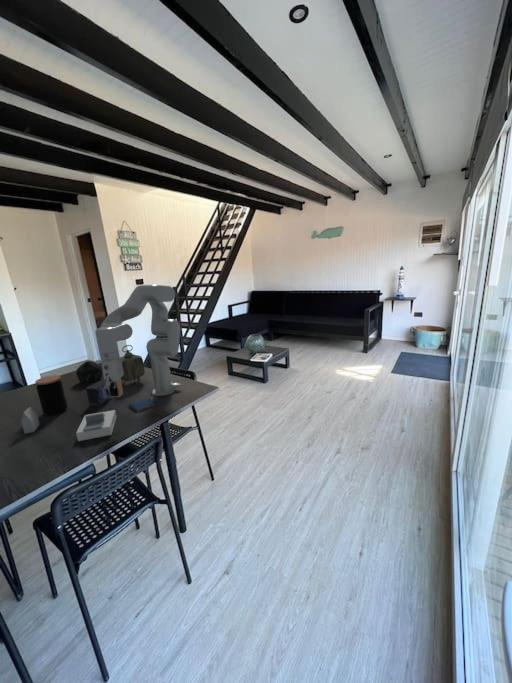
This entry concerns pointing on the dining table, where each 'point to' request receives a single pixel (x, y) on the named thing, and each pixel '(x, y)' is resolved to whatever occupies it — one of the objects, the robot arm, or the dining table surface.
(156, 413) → the dining table surface
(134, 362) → the tabletop clock
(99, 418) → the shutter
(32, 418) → the grey faceted stone
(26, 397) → the dining table surface
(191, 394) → the dining table surface
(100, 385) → the small box
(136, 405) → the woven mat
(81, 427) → the socket block
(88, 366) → the squash
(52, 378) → the coffee jar
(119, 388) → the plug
